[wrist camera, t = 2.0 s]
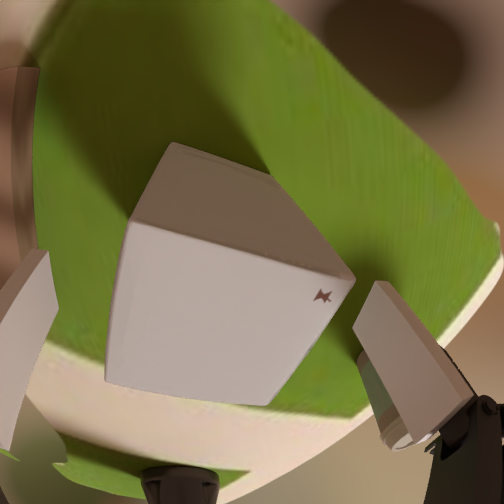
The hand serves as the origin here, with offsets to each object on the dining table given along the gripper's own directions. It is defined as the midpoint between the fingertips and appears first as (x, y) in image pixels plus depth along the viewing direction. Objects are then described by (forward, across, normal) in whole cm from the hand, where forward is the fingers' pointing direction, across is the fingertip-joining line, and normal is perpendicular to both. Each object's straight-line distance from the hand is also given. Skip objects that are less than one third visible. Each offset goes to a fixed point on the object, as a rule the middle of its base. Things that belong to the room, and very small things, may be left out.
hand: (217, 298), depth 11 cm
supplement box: (+11, 0, 0) cm, 11 cm away
